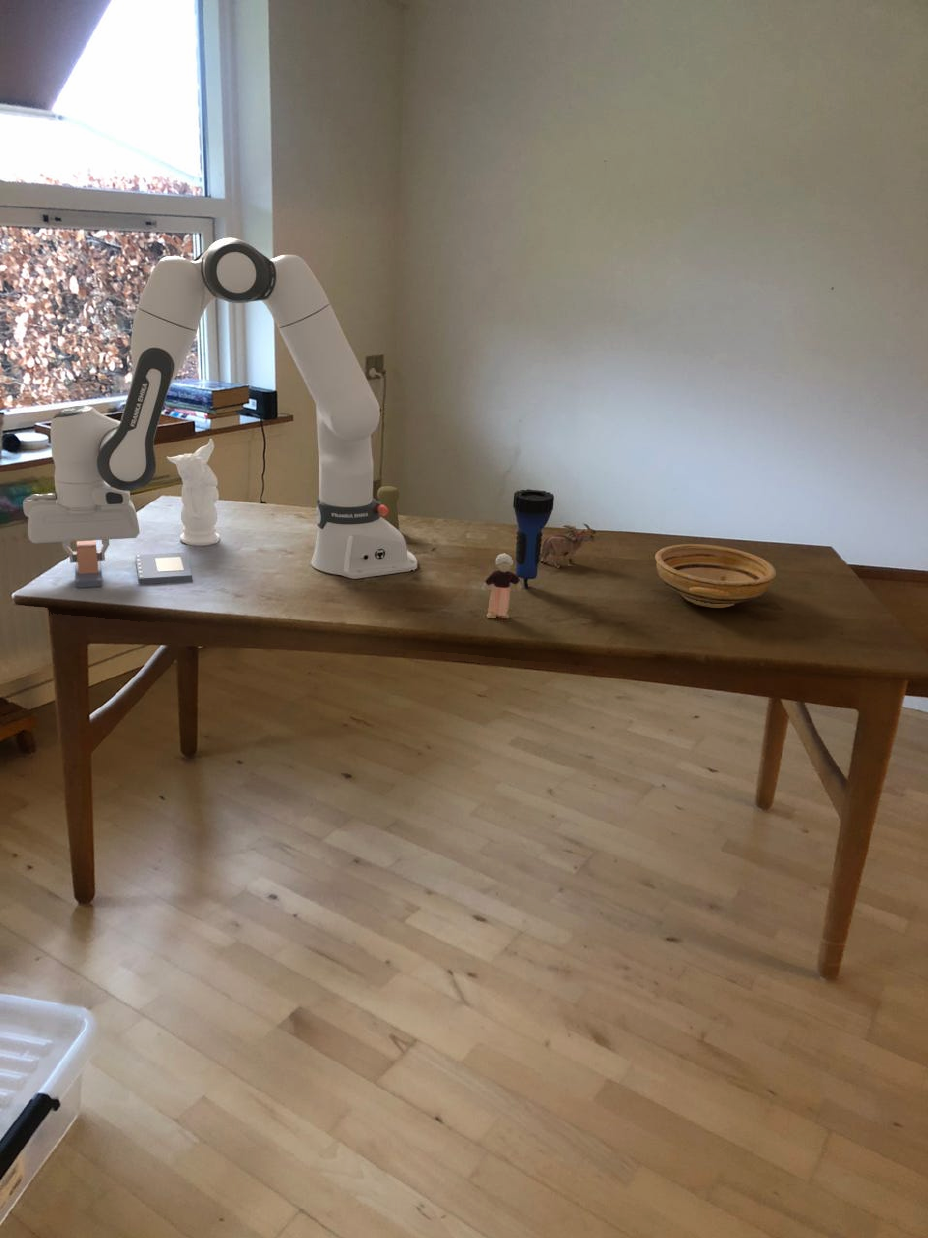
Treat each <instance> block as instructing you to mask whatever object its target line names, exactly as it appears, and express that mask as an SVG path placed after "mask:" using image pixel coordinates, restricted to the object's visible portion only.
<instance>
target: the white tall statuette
mask: <svg viewBox="0 0 928 1238" xmlns="http://www.w3.org/2000/svg"><path fill="white" fill-rule="evenodd" d="M214 444H215V443H214V441H213V439H212V438H209V441H208V443H207V444H206V445H205V444H204V445H203V446H201V447H199V448H198V449H196V451H195V452H194V453H184V454H179V455H175V456H171V457H170V456H166V458H167V460H168V461H169V462H171V463H172V464H175V466H176V471H177V472H178V473H177V474H178V476H179V477H180V478H181V482H182V487H181V502H182V504H183V505H182V507H181V510H180V511H181V512H180V520H181V522H182V524H183V529H182V531H183V533H181V534H180V536H179V538H180V539H179V540H180V541H181V542H182V543H185V544H186V545H189V546H195V547H197V546H198V547H201V546H202V547H203V546H204V547H205V546H211V545H213V544H217V543H219V542H220V538H221V537H220V535H219V533H217V528H216V526H217V525H216V524H217V522H218V511H217V508H216V505H215V503H217V502H218V501H219V497H220V493H219V490H218V488H217V486H218V485H219V484H218V478H217V476H216V474H215V473H214V472H213V470H212V469H211V467H210V466H209V464H207V463H208V461H209V460H210V455H211V454H212V453H213V451H214V449H215V445H214ZM218 541H219V542H218Z"/></svg>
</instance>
